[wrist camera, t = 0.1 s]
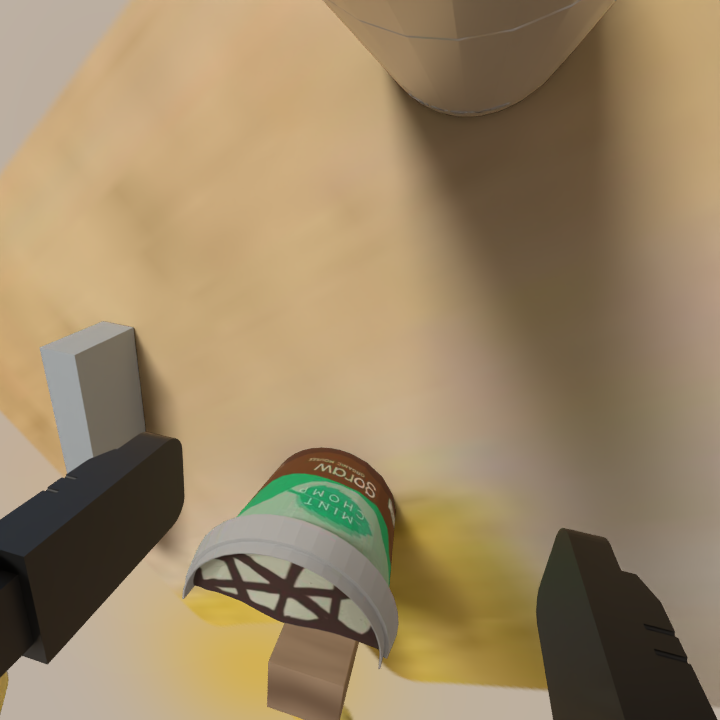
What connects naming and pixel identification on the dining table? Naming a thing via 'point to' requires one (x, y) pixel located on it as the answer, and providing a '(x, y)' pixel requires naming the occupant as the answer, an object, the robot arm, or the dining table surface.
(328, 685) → the walnut block
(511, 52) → the robot arm
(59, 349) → the rail
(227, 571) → the food container
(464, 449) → the dining table surface
